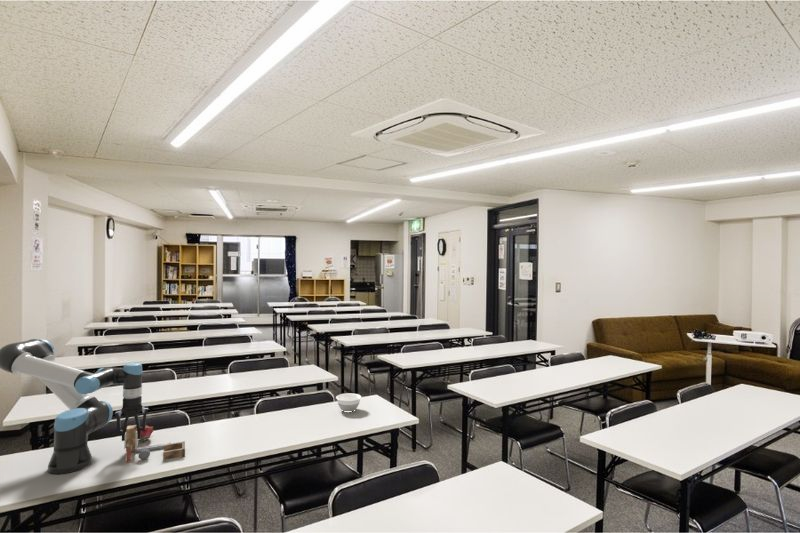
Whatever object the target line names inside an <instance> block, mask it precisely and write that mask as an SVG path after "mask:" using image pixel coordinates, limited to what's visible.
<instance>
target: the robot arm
mask: <svg viewBox="0 0 800 533" xmlns="http://www.w3.org/2000/svg"><path fill="white" fill-rule="evenodd" d="M54 349H55V348H54V346H53V344H52V343H51V342H50V341H48V340H47V339H44V338H33V339H28V340H24V341H19V342H13V343H9V344H6V345H4V346H2V347H1V348H0V369H1V370H3V371H5V372H8V373H11V374H15V375H19V374H24V375H27V376H28V375H29V376H32V377H35V378H38V379H39V380H40V381H41V382H42V383H43V384H44V385H45V386H46V387H47V389H49V390H50V391H51V392H52V393H53V394H54V396H56V397H57V398H58V399H59V400H60V401H61V402H62V403H63V404H64V405H65V406H66V407H67V408H68V409H69V410H68V409H67V410H65V411H63V412H61V413H59V414H58V415H56V417H55V419H54V424H53V452H52V454H51V457H50V460H49V462H48V464H47V472H48V473H49V474H52V475H64V474H69V473H74V472H76V471H79V470H82V469H84V468H87V467H89V466H90V465H91V464H92V462H93V456H92V452H91V451H90V448H89V446H88V439H89V435H90V434H92V433H94V432H95V431H97V430H100V429H102V428H103V427H104V426H106V425H107V424H109V423H110V421H112V418H113V414H114V416H115V418H116V434H118V435H121V442H123V443H124V449H125V450H126V431H127V426H128V421H129V418H130V417H131V418H132V417H134V421H135V425H136V429H137V431H136V441H135V447H136V448H138V444H139V441H138V440H140V437H141V431H142V430H145V425H147V415H148V414H147V413H148V411H149V407H143V404H142V399H143V398H142V394H143V393H142V392H143V382H142V381H143V372H144V371H143V365H142V363H139V362H128V363H125V364H124V365H123V367H109V366H107V367H101V368H99V369H97V371H95V372H94V373H93V372H89V371H85V370H81V369H78V368H75V367H73V366H72V367H71V366H68V365H64V364H61V363H58V362H56V361H55V360H56V355H55V350H54ZM111 385H122V397H123V398H122V407H121V409H120V410H118V411H115V413H114V411H113V406H112V405H111V403H109V402H108V401H105V400H98V398H97V397H96V396H89V394H92V393H94V392H96V391H99V390H100V389H101V390H102V389H103V388H105V387H108V386H111ZM140 412H142V413H143V415H142V426H141V422H140V418H139V414H140ZM122 414H123V415H124V416H125V418H124V422H123V427H122V424H121V422H122V421H121V416H122Z"/></svg>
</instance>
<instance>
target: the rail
mask: <svg viewBox="0 0 800 533" xmlns="http://www.w3.org/2000/svg"><path fill="white" fill-rule="evenodd" d="M171 443H172V442H165V443H159V444H153V445H152V444H151V445H147V446H141V447H136V449H135V450H133V451H131V455H133V454H139V453H140V451H141V450H143V449H148V450H149V451H150V452H151V451H157V450H164V445H165V444H171Z"/></svg>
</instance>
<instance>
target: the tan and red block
mask: <svg viewBox="0 0 800 533" xmlns="http://www.w3.org/2000/svg"><path fill="white" fill-rule="evenodd" d="M136 429H137V426H136V424H133V425H131V424H130V425H127V427H126V431H125V432H126V448H125V453H126V457H125V458H126V459H125V462H126V463H131V461H132V454H131V451H133V450H135V449H136V448H137V447H135V441H136Z"/></svg>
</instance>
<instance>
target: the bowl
mask: <svg viewBox="0 0 800 533" xmlns="http://www.w3.org/2000/svg"><path fill="white" fill-rule="evenodd" d="M335 399H336V400H337V405H338V406H339V409H340V410H341V411H342V410H343V411H354V410H355V411H356V410H357V408H358V407H359V405H360V401H361V399H362V396H361V395H360V394H359V393H354V392H353V393H351V392H349V393H348V392H347V393H340V394H338V395H336V397H335Z"/></svg>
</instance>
